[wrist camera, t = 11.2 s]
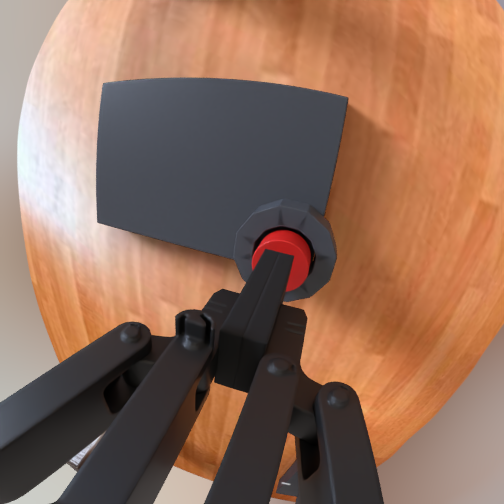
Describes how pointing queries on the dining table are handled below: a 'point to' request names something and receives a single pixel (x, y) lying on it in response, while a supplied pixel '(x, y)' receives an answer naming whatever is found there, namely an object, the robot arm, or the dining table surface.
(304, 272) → the button
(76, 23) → the dining table surface
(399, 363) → the dining table surface
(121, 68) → the dining table surface
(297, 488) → the panel
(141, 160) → the block
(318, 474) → the robot arm
